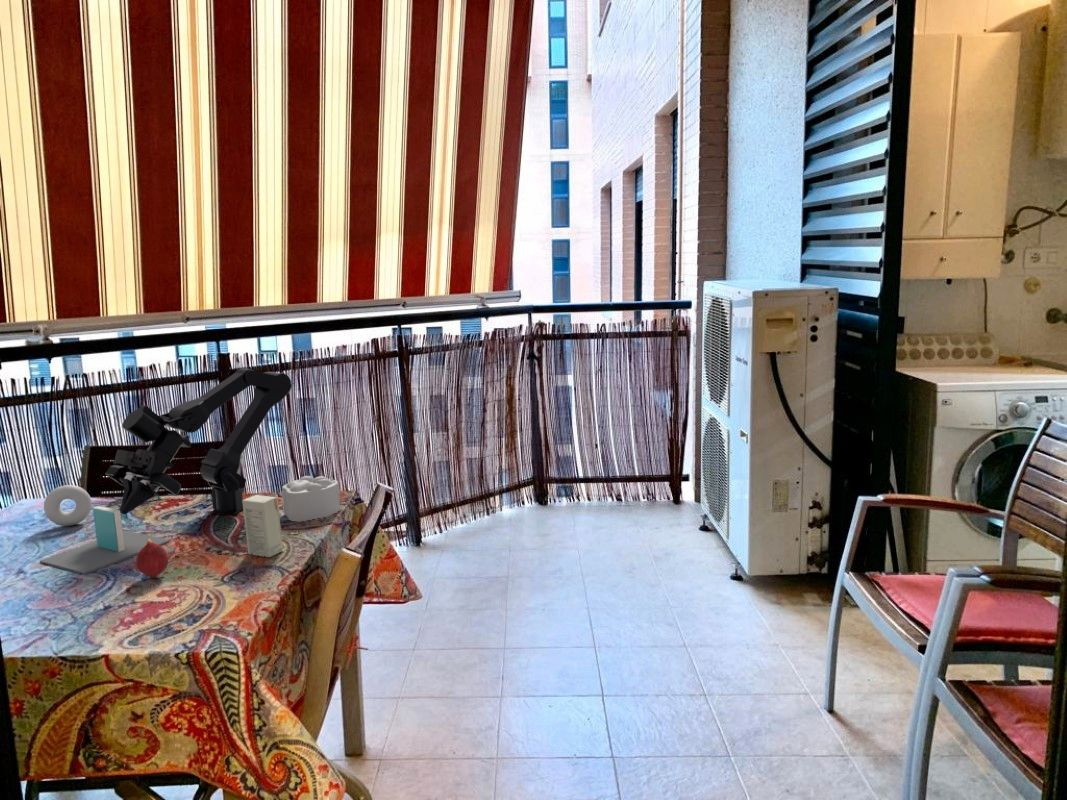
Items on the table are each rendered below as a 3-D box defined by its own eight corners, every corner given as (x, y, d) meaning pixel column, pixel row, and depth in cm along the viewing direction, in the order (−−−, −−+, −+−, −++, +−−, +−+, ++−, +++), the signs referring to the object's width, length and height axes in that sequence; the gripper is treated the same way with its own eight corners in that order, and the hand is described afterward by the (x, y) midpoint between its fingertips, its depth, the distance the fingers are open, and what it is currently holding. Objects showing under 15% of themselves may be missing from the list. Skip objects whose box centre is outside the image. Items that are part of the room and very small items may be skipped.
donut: (94, 519, 194) (89, 480, 192) (94, 524, 190) (89, 484, 189) (47, 526, 189) (41, 486, 187) (45, 531, 186) (40, 490, 184)
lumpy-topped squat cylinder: (281, 512, 197) (278, 478, 195) (333, 503, 204) (331, 470, 202) (292, 524, 188) (289, 489, 187) (345, 514, 195) (343, 480, 193)
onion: (176, 573, 160) (172, 536, 158) (154, 585, 155) (150, 546, 153) (153, 570, 162) (149, 533, 160) (131, 581, 157) (126, 543, 155)
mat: (125, 532, 185) (125, 530, 184) (169, 541, 178) (169, 540, 178) (39, 562, 167) (39, 560, 167) (85, 574, 160) (84, 572, 160)
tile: (103, 544, 176) (98, 505, 174) (124, 549, 172) (119, 510, 171) (97, 547, 174) (92, 508, 172) (117, 552, 171) (113, 512, 169)
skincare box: (283, 551, 171) (279, 496, 169) (269, 558, 167) (264, 503, 165) (261, 547, 174) (256, 493, 171) (246, 554, 170) (241, 499, 168)
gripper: (108, 430, 181) (67, 490, 173) (164, 438, 173) (123, 501, 165) (142, 456, 189) (105, 514, 182) (197, 464, 181) (160, 525, 173)
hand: (122, 513), depth 175 cm, fingers closed
